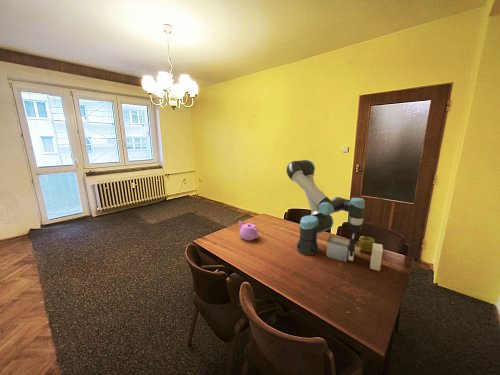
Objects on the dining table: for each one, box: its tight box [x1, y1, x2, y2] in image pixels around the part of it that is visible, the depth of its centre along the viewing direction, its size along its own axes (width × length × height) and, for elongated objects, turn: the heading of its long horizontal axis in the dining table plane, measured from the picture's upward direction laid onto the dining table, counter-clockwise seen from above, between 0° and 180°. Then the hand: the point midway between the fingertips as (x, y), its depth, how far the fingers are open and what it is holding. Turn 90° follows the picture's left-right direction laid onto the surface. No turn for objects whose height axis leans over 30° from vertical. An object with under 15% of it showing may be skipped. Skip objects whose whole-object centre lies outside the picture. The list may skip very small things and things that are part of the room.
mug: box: [358, 235, 376, 253], centre depth 144 cm, size 12×10×10 cm
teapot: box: [238, 220, 259, 241], centre depth 163 cm, size 20×13×12 cm, turn 48°
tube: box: [347, 244, 362, 256], centre depth 133 cm, size 17×5×5 cm, turn 58°
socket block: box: [369, 242, 384, 272], centre depth 124 cm, size 5×9×12 cm, turn 148°
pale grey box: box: [325, 235, 350, 263], centre depth 135 cm, size 12×9×11 cm
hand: (351, 256), depth 132 cm, fingers open, 9 cm apart
